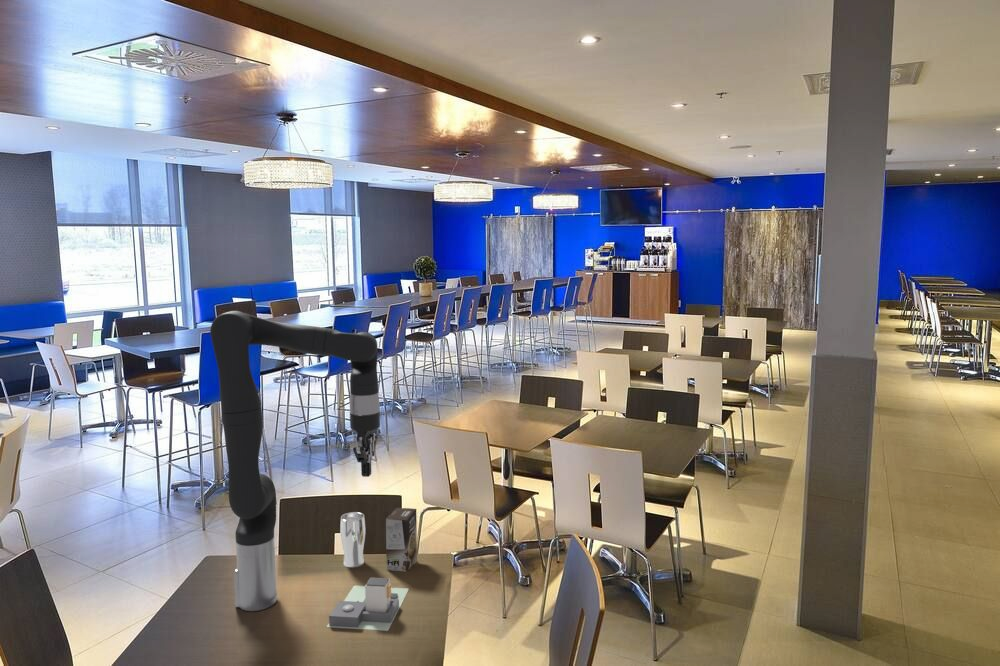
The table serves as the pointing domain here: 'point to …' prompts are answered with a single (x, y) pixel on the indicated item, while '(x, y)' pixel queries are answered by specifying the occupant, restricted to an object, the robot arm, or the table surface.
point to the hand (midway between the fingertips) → (366, 475)
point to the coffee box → (401, 539)
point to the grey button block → (347, 614)
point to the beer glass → (353, 538)
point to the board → (376, 618)
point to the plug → (378, 595)
